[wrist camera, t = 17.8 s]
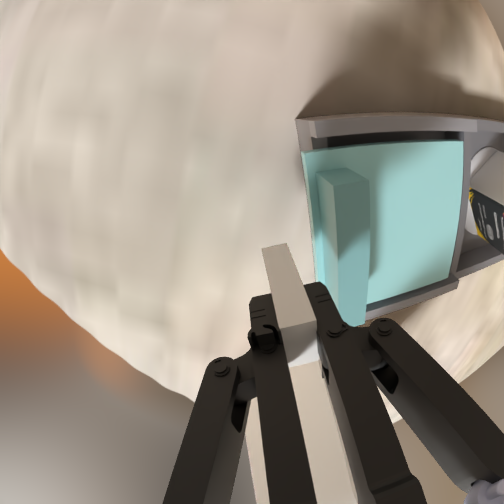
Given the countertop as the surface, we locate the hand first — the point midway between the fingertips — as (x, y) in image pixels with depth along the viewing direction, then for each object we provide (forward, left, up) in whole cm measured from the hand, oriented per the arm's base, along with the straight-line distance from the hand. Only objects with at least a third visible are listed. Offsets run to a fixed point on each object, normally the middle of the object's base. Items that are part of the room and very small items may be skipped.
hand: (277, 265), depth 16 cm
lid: (0, +9, -2) cm, 9 cm away
